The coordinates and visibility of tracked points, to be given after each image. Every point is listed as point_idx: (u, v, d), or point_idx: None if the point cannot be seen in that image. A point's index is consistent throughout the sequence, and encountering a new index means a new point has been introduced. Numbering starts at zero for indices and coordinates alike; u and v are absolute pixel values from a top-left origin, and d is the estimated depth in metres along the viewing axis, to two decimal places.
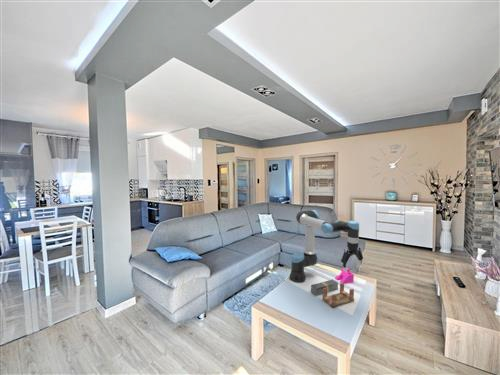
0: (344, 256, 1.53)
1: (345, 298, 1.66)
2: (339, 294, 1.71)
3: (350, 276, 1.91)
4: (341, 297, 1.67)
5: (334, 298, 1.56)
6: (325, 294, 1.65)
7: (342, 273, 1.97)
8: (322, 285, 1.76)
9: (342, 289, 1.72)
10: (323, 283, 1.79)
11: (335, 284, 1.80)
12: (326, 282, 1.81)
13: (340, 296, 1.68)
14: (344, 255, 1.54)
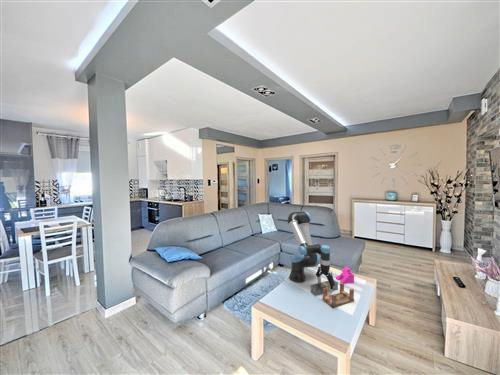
0: None
1: (345, 298, 1.66)
2: (339, 294, 1.71)
3: (350, 276, 1.91)
4: (341, 297, 1.67)
5: (334, 298, 1.56)
6: (325, 294, 1.65)
7: (342, 273, 1.97)
8: (322, 285, 1.76)
9: (342, 289, 1.72)
10: (323, 283, 1.79)
11: (335, 284, 1.80)
12: (326, 282, 1.81)
13: (340, 296, 1.68)
14: None
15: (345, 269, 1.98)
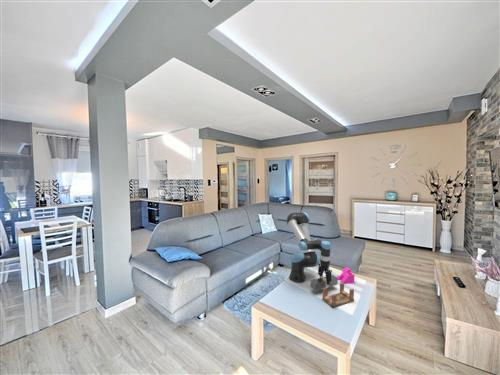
0: None
1: (345, 298, 1.66)
2: (339, 294, 1.71)
3: (350, 276, 1.91)
4: (341, 297, 1.67)
5: (334, 298, 1.56)
6: (325, 294, 1.65)
7: (343, 273, 1.97)
8: (322, 280, 1.77)
9: (342, 289, 1.72)
10: (323, 278, 1.80)
11: (335, 279, 1.80)
12: None
13: (340, 296, 1.68)
14: None
15: (345, 269, 1.98)
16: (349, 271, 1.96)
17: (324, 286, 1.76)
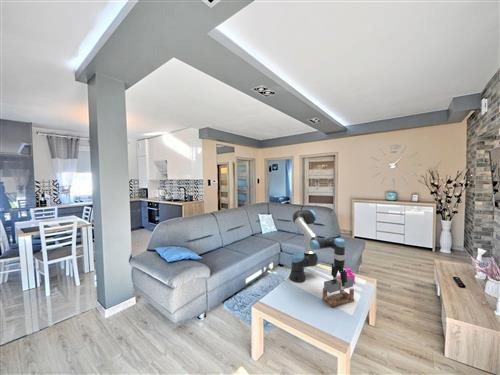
0: None
1: (345, 298, 1.66)
2: (339, 294, 1.71)
3: (351, 277, 1.90)
4: (341, 297, 1.67)
5: (334, 298, 1.56)
6: (325, 294, 1.65)
7: None
8: (336, 282, 1.62)
9: None
10: (337, 279, 1.65)
11: (351, 280, 1.65)
12: (340, 278, 1.66)
13: (340, 296, 1.68)
14: None
15: None
16: (349, 271, 1.95)
17: (339, 288, 1.61)
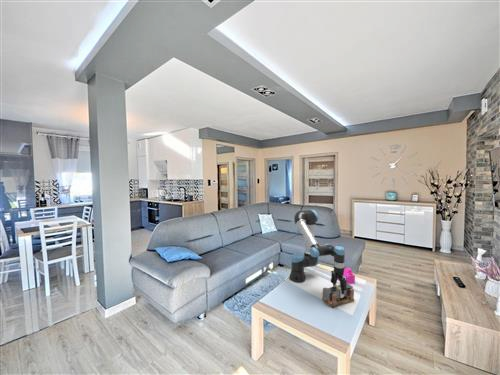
0: None
1: (345, 298, 1.66)
2: None
3: (351, 277, 1.90)
4: None
5: (334, 298, 1.56)
6: None
7: (343, 273, 1.96)
8: (336, 289, 1.62)
9: None
10: (337, 287, 1.65)
11: (350, 288, 1.66)
12: (340, 286, 1.67)
13: None
14: None
15: (346, 269, 1.97)
16: (350, 271, 1.95)
17: (339, 295, 1.61)
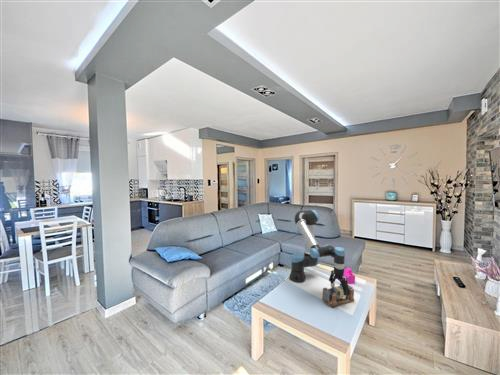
0: None
1: (345, 298, 1.66)
2: None
3: (351, 277, 1.90)
4: None
5: (334, 298, 1.56)
6: None
7: (344, 273, 1.96)
8: (336, 290, 1.62)
9: None
10: (337, 288, 1.65)
11: None
12: (340, 287, 1.67)
13: None
14: None
15: (347, 270, 1.97)
16: (350, 272, 1.95)
17: (338, 297, 1.62)
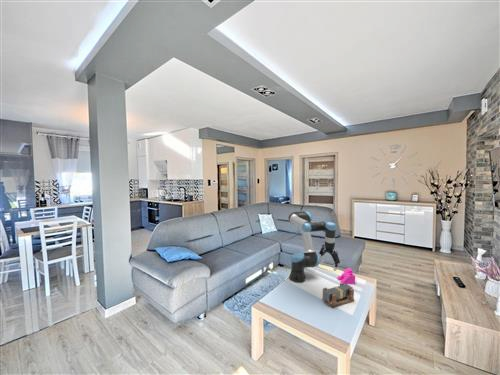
0: None
1: (345, 298, 1.66)
2: None
3: (351, 277, 1.89)
4: None
5: (334, 298, 1.56)
6: None
7: (344, 274, 1.96)
8: (336, 290, 1.62)
9: None
10: (337, 288, 1.65)
11: None
12: (340, 287, 1.67)
13: None
14: None
15: (347, 270, 1.97)
16: (350, 272, 1.94)
17: (338, 297, 1.62)
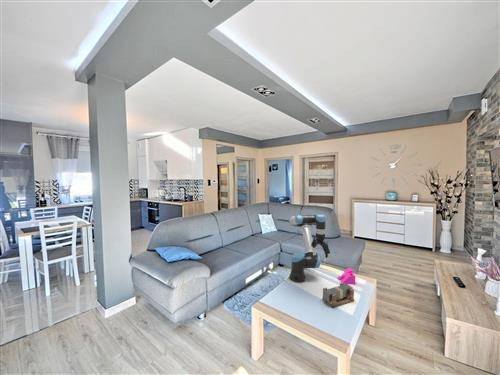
0: None
1: (345, 298, 1.66)
2: None
3: (351, 277, 1.89)
4: None
5: (334, 298, 1.56)
6: None
7: (344, 274, 1.96)
8: (336, 290, 1.62)
9: None
10: (337, 288, 1.65)
11: None
12: (340, 287, 1.67)
13: None
14: None
15: (347, 270, 1.96)
16: (351, 272, 1.94)
17: (338, 297, 1.62)
